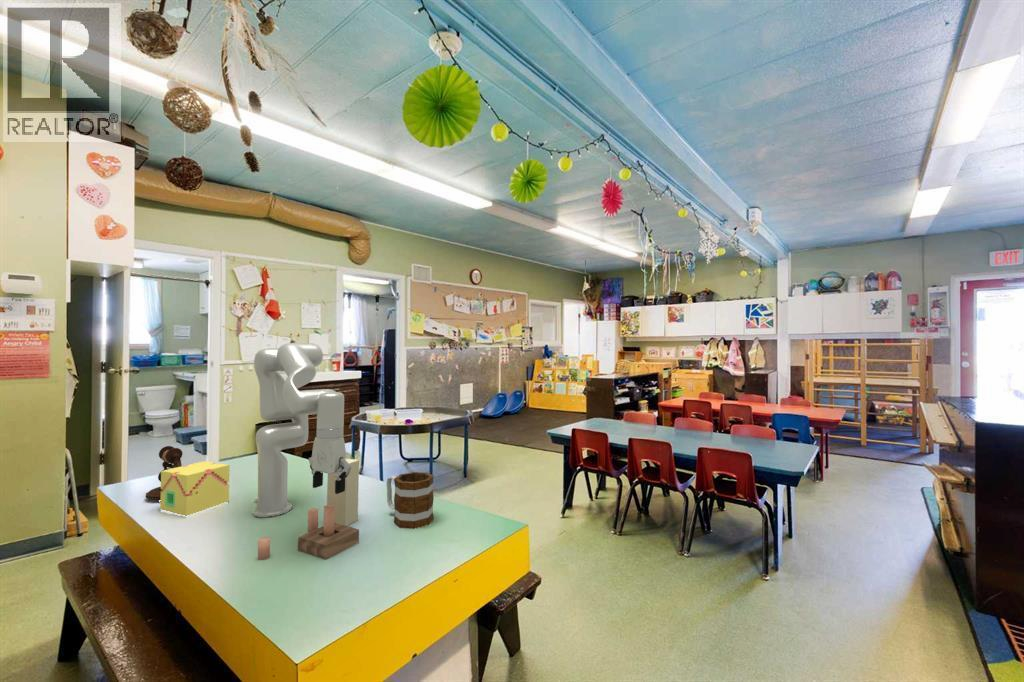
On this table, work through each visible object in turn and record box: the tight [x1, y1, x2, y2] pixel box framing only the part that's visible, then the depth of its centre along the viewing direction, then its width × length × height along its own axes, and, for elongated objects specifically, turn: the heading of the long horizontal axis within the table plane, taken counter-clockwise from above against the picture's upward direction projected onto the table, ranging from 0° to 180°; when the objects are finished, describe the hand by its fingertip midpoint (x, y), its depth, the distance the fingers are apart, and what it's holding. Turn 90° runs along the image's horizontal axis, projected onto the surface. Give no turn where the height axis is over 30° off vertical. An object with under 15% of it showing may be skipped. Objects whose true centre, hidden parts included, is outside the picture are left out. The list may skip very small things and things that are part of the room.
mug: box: [386, 471, 435, 530], centre depth 148 cm, size 20×14×15 cm
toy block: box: [159, 460, 230, 516], centre depth 158 cm, size 15×15×15 cm
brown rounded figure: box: [145, 445, 183, 501], centre depth 170 cm, size 15×15×20 cm
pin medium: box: [307, 508, 319, 533], centre depth 135 cm, size 3×3×8 cm
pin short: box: [257, 536, 271, 561], centre depth 120 cm, size 3×3×5 cm
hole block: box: [297, 523, 360, 561], centre depth 127 cm, size 12×12×4 cm
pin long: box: [323, 504, 335, 537], centre depth 127 cm, size 3×3×12 cm
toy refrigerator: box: [326, 458, 360, 527], centre depth 145 cm, size 8×7×21 cm
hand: (328, 489), depth 128 cm, fingers open, 9 cm apart
